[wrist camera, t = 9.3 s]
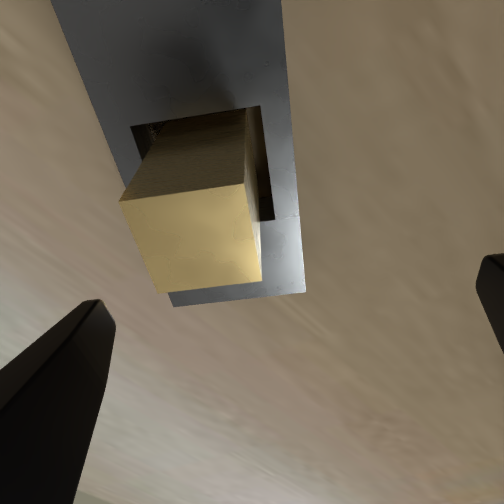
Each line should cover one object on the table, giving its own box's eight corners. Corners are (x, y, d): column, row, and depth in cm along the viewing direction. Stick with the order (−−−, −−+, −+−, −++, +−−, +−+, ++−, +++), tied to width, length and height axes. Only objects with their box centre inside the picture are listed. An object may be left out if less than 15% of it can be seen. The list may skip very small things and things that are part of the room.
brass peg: (245, 108, 17) (244, 183, 11) (258, 183, 20) (262, 280, 13) (165, 121, 18) (118, 202, 11) (186, 194, 20) (157, 293, 14)
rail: (192, -930, 6) (167, -1330, 5) (300, 265, 23) (305, 292, 21) (-199, -767, 7) (-372, -1054, 5) (179, 279, 24) (173, 307, 22)
